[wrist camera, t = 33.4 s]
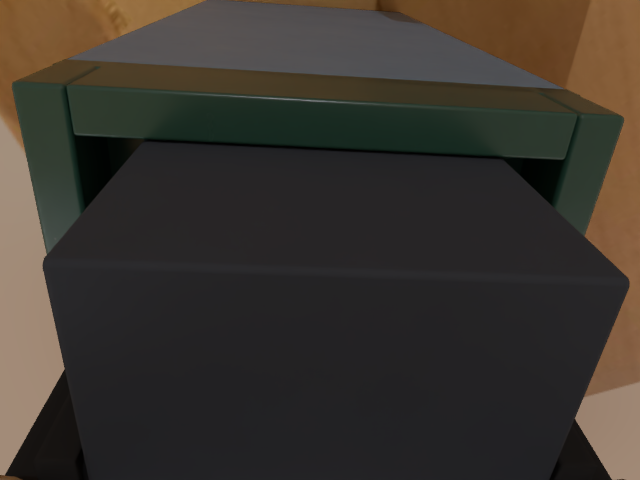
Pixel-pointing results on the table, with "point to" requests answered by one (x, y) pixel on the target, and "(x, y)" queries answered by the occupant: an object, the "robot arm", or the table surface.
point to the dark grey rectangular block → (325, 317)
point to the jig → (299, 125)
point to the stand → (310, 45)
